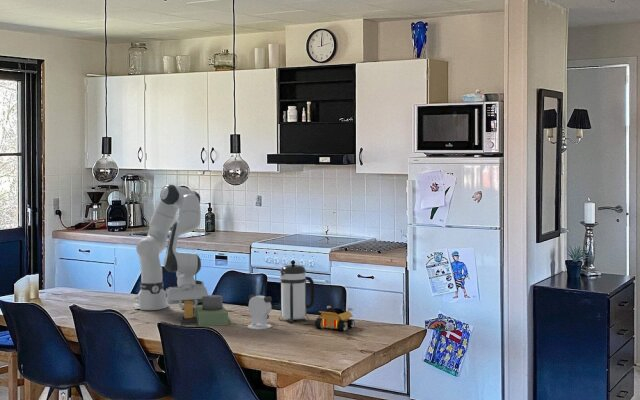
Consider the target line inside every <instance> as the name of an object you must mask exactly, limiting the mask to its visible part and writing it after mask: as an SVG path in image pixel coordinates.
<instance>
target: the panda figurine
mask: <svg viewBox="0 0 640 400" xmlns="http://www.w3.org/2000/svg"><path fill="white" fill-rule="evenodd" d="M247 297H248V299H249V301H248V310H249V312H250V314H251V324H248V325H247V328H248V329H251V330H267V329H270V328H272V325H271V324H270V323H269V324H268V319H269V317H270V315H269V314H270V313H271V311H272V309H273V306H272V301H273V297H272V296H271V295H270V296H268V295H267V296H264V295H257V294H256V293H255V294H249V295H248V296H247Z"/></svg>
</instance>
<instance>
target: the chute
mask: <svg viewBox="0 0 640 400" xmlns="http://www.w3.org/2000/svg"><path fill="white" fill-rule="evenodd" d="M183 305H184V306H185V310H183V317H185V318H193V316H194V314H193V301H192V300H191V301H184V303H183Z"/></svg>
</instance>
